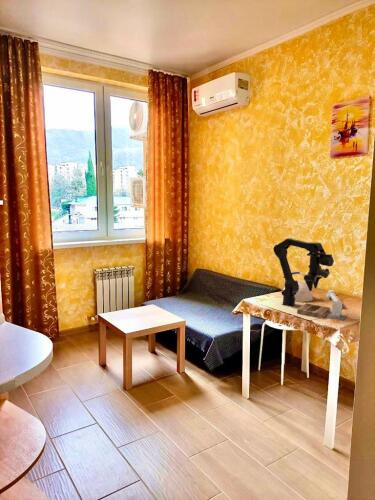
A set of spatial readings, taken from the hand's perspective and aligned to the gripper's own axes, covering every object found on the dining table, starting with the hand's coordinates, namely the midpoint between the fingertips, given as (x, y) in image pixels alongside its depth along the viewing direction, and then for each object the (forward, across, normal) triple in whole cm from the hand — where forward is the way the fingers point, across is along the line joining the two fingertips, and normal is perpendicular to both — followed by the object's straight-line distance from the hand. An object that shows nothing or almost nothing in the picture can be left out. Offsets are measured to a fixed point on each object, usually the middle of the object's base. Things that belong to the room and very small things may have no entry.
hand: (313, 289), depth 213 cm
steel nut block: (+12, -3, -15) cm, 20 cm away
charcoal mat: (+13, -3, -15) cm, 20 cm away
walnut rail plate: (+13, -3, -2) cm, 13 cm away
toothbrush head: (+14, +27, -6) cm, 31 cm away
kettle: (+13, +24, +17) cm, 33 cm away
